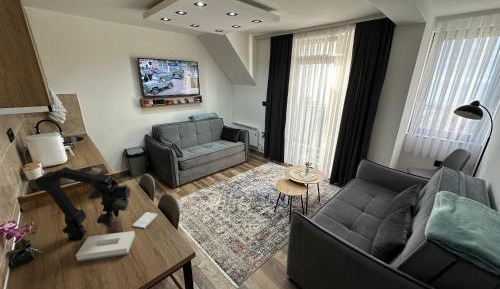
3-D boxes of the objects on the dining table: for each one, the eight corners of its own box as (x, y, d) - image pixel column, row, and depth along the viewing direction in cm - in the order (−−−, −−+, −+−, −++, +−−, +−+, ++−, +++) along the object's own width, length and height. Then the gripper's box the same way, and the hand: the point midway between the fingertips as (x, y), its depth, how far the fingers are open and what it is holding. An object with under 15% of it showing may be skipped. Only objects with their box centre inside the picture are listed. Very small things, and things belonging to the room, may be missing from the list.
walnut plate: (108, 235, 115) (104, 222, 112) (109, 232, 117) (106, 219, 114) (123, 233, 117) (120, 220, 114) (125, 230, 119) (122, 217, 116)
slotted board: (77, 261, 99) (75, 255, 98) (90, 242, 110) (88, 236, 109) (127, 254, 104) (126, 248, 102) (135, 236, 115) (134, 230, 113)
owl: (95, 190, 157) (88, 166, 150) (113, 188, 160) (108, 165, 154) (87, 199, 146) (80, 174, 139) (107, 197, 149) (101, 172, 142)
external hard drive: (157, 215, 132) (144, 229, 121) (146, 213, 134) (132, 227, 122) (157, 213, 132) (144, 227, 120) (145, 211, 133) (131, 224, 122)
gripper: (118, 207, 102) (124, 232, 108) (130, 187, 120) (134, 210, 125) (93, 210, 100) (100, 235, 105) (109, 189, 117) (114, 212, 123)
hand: (114, 222), depth 115 cm, fingers open, 9 cm apart
